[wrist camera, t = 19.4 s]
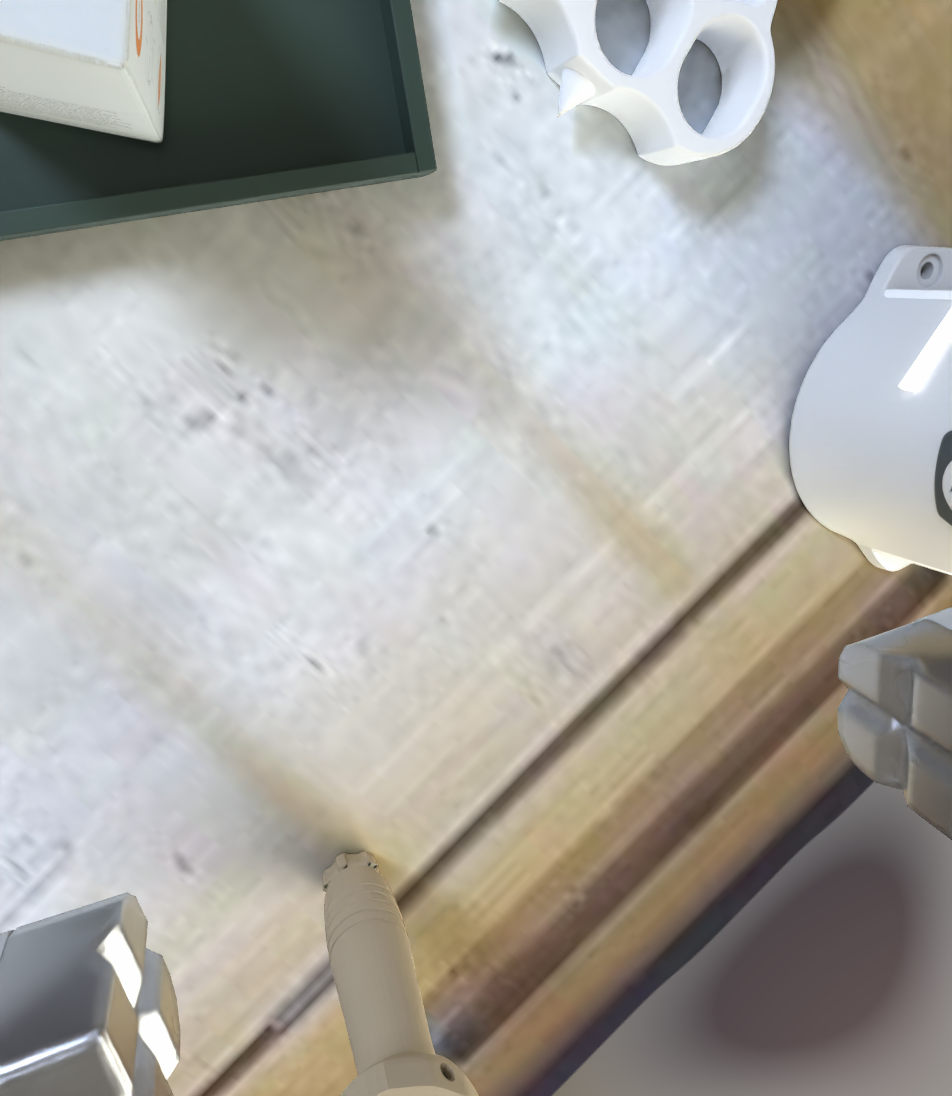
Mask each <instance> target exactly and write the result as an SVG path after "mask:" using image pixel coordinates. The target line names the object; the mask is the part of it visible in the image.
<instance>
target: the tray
mask: <svg viewBox="0 0 952 1096" xmlns="http://www.w3.org/2000/svg"><path fill="white" fill-rule="evenodd" d="M436 169H437V167H436V161H435V155H434V149H433V142H432V136H431V130H430V123H429V117H428V111H427V105H426V98H425V92H424V86H423V80H422V73H421V67H420V61H419V54H418V48H417V42H416V36H415V29H414V23H413V17H412V10H411V4H410V0H167V27H166V69H165V104H164V130H163V141H162V142H161V143H154V142H149V141H144V140H139V139H134V138H129V137H124V136H119V135H114V134H109V133H104V132H99V131H94V130H90V129H85V128H80V127H75V126H70V125H65V124H60V123H55V122H50V121H45V120H40V119H35V118H30V117H25V116H20V115H15V114H10V113H5V112H0V241H2V240H9V239H15V238H22V237H29V236H35V235H42V234H48V233H55V232H61V231H68V230H75V229H81V228H88V227H94V226H101V225H108V224H114V223H121V222H127V221H134V220H140V219H147V218H154V217H160V216H167V215H173V214H180V213H186V212H193V211H200V210H206V209H213V208H219V207H226V206H232V205H239V204H246V203H252V202H259V201H265V200H272V199H278V198H285V197H292V196H298V195H305V194H311V193H318V192H324V191H331V190H338V189H344V188H351V187H357V186H364V185H371V184H377V183H384V182H390V181H397V180H403V179H410V178H417V177H423V176H426V175H428V174H430V173H432V172H434V171H436Z"/></svg>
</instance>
